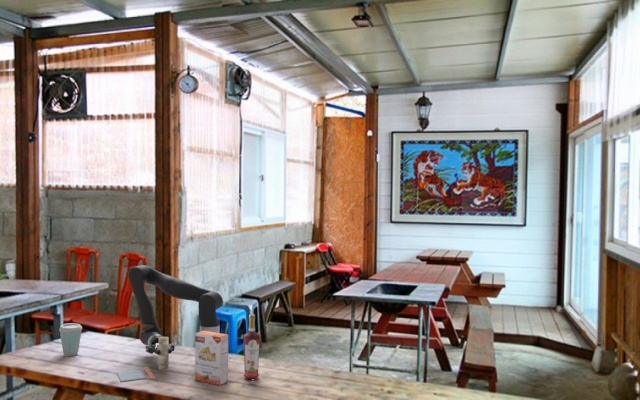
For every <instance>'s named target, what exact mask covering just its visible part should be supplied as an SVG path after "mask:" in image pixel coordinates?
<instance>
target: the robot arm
mask: <svg viewBox="0 0 640 400" xmlns="http://www.w3.org/2000/svg"><path fill="white" fill-rule="evenodd" d="M127 275H128V276H127V277H128V281H129V284H130V286H131V289H132V292H133V295H134V299H135V301H136V303H137V309H138V314H139V319H140V323H141V325H142V326H147V325H150V326H151V327H152V328H147V329H143V330H142V331H141V332H140V333H139V340H140V342H141V344H143V345H144V346H145V352H146V353H148V354H151V355H153V354H156V355H158V356H159V355H160V350H159V338H160V337H163V334H162V333H163V332H162V331H161V328H160V327H159V324H158V323H157V321H156V317H155V312H154V311H155V310H154V306H153V304H152V302H151V300H150V299H149V296H147V293H146V291H145V288H144V287H145V286H144V285H145V284H149V285H153V286H155V287H157V288H159V289H160V290H161V291H162V292H163V293H164V294H165V295H168V296H170V297H172V298H176V299H177V300H179V299H180V300H185V301H191V302H192V301H193V302H197V303H198V304H197V305H198V306H197V307H198V321H199V323H200V326H199V327H200V328H199V329H200V331H199V332H201V331H210V332H215V333H220V318H218V317H217V310H218V309H220V308H221V307H222V306H223V303H224V298H223V297H222V295H221V294H220V293H219V292H217V291H214V290H210V289H206V288H202V287H201V286H200V287H199V286H197V285H195V284H192V283H190V282H187V281H185V280H183V279H180V278H177V277H174V276H172V275H169V274H166V273H163V272H160V271H158V270H156V269H154V268H153V267H150V266H148V265H145V264H143V265H136V266H135V265H134V266H132V267H131V268H130V269H129V270H128V274H127ZM175 349H176V343H175V342H172V343H169V355H171V353H173V352H174V351H175Z"/></svg>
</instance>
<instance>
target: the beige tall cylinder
mask: <svg viewBox="0 0 640 400" xmlns="http://www.w3.org/2000/svg"><path fill="white" fill-rule="evenodd" d="M169 344H170V342H169V336H162V337H160V338H159V350H160V355H158V370H159V371H165V370H168V369H170V368H169V364H170V363H169V362H170V361H169V360H170V359H169V358H170V357H169V355H170V354H169Z"/></svg>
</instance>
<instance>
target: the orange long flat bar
mask: <svg viewBox="0 0 640 400" xmlns="http://www.w3.org/2000/svg"><path fill="white" fill-rule="evenodd" d="M143 370H144V372H145V374H146V375H147V376H148V378H149V379H150V380H155V379H156V377H155V375H154V373H153V372H152V370H151V368H150V367H149V366H147V367H146V366H145V367H143Z"/></svg>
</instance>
